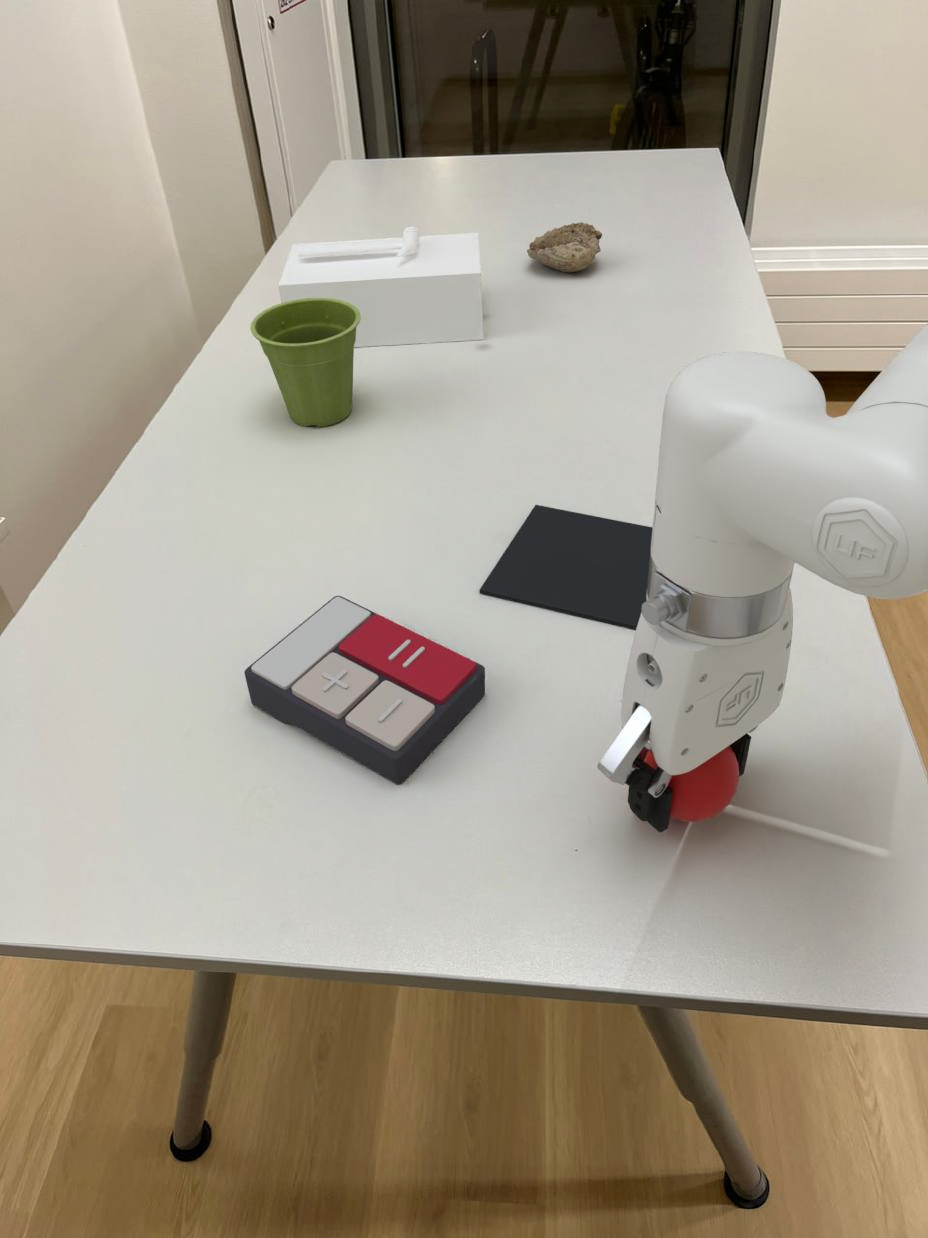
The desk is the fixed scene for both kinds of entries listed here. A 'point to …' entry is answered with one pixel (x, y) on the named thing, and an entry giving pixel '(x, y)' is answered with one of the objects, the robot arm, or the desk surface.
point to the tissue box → (395, 285)
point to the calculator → (366, 687)
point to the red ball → (703, 787)
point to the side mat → (576, 566)
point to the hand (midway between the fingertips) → (686, 788)
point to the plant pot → (311, 356)
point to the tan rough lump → (567, 247)
